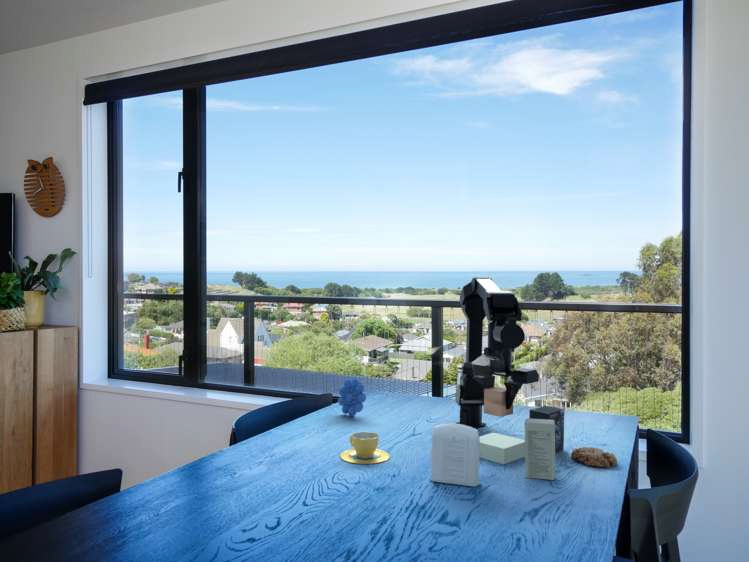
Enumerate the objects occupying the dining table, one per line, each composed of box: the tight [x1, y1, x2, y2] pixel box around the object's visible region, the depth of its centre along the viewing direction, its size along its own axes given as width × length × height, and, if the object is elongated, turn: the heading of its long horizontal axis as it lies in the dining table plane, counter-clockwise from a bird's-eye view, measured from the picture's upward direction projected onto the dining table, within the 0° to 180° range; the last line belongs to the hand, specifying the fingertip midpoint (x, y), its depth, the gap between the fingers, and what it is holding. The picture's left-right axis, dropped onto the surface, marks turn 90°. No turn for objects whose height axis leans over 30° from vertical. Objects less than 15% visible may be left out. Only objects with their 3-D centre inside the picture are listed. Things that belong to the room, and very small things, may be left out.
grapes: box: [337, 377, 367, 417], centre depth 185 cm, size 12×7×12 cm, turn 45°
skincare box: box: [524, 417, 556, 481], centre depth 132 cm, size 6×4×12 cm
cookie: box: [570, 446, 618, 469], centre depth 143 cm, size 10×11×3 cm
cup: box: [339, 431, 391, 465], centre depth 144 cm, size 12×12×5 cm
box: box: [529, 405, 566, 454], centre depth 151 cm, size 8×6×11 cm
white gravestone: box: [430, 422, 480, 488], centre depth 127 cm, size 10×4×12 cm, turn 72°
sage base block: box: [479, 432, 525, 465], centre depth 147 cm, size 10×10×4 cm
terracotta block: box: [483, 385, 514, 418], centre depth 147 cm, size 5×5×6 cm
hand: (498, 407), depth 147 cm, fingers closed on terracotta block, 5 cm apart
